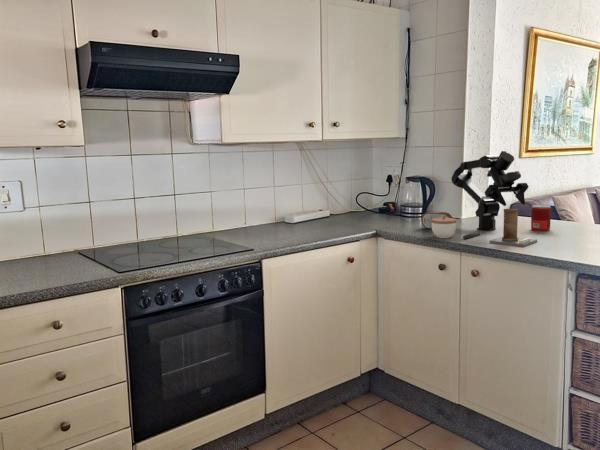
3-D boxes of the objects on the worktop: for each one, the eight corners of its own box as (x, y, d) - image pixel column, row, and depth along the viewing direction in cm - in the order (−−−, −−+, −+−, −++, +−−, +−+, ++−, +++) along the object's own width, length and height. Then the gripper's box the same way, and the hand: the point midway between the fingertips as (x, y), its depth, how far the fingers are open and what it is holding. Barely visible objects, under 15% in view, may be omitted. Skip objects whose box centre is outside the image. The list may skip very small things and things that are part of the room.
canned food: (551, 231, 239) (552, 206, 237) (532, 231, 241) (533, 207, 239) (547, 228, 247) (548, 204, 245) (529, 228, 248) (530, 204, 246)
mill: (498, 239, 219) (499, 209, 217) (510, 238, 221) (511, 208, 219) (509, 242, 213) (509, 210, 211) (521, 240, 215) (522, 209, 213)
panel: (489, 243, 217) (489, 240, 217) (503, 238, 226) (503, 235, 226) (523, 246, 207) (523, 244, 207) (537, 241, 216) (537, 239, 216)
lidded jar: (427, 238, 233) (427, 216, 231) (436, 234, 242) (436, 213, 240) (451, 239, 227) (451, 218, 225) (459, 235, 236) (460, 214, 234)
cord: (465, 239, 226) (465, 235, 226) (462, 239, 227) (462, 235, 227) (480, 235, 235) (480, 231, 235) (477, 234, 237) (477, 231, 236)
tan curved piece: (453, 229, 251) (453, 212, 250) (451, 230, 249) (451, 213, 248) (423, 227, 260) (423, 210, 259) (420, 228, 258) (420, 211, 256)
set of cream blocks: (519, 243, 210) (519, 240, 209) (527, 240, 215) (527, 237, 215) (522, 243, 209) (523, 240, 208) (530, 240, 214) (530, 237, 214)
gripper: (489, 166, 229) (504, 193, 220) (526, 164, 233) (543, 191, 224) (478, 183, 237) (492, 210, 229) (514, 181, 242) (530, 207, 233)
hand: (514, 204), depth 228 cm, fingers open, 9 cm apart
